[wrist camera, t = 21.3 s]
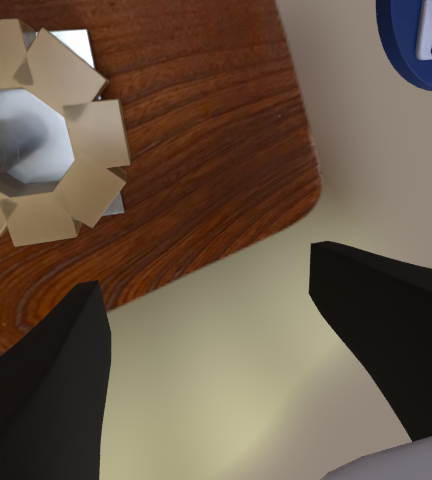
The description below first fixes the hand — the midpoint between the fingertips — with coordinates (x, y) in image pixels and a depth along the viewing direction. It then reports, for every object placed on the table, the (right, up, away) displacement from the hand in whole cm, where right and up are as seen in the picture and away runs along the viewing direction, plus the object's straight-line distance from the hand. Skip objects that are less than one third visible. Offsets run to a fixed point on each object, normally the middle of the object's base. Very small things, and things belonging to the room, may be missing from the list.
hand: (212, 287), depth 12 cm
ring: (-9, +7, +5) cm, 12 cm away
